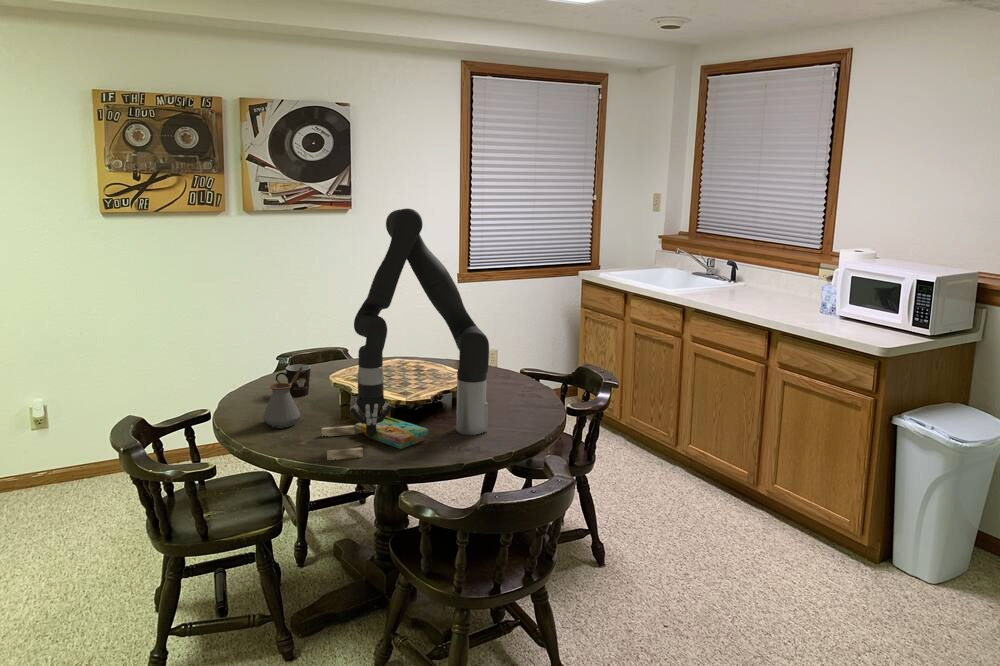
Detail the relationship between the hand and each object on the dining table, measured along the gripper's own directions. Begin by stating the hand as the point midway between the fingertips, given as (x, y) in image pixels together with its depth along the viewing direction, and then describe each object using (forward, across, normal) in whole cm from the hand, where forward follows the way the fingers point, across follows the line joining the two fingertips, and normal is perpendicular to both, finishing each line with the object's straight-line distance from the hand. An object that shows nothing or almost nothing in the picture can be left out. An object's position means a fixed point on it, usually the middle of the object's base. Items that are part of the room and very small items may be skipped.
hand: (371, 435), depth 232 cm
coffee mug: (+3, +20, -55) cm, 59 cm away
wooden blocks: (+3, +9, 0) cm, 9 cm away
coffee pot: (+3, +23, -28) cm, 36 cm away
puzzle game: (+3, -7, -4) cm, 8 cm away
